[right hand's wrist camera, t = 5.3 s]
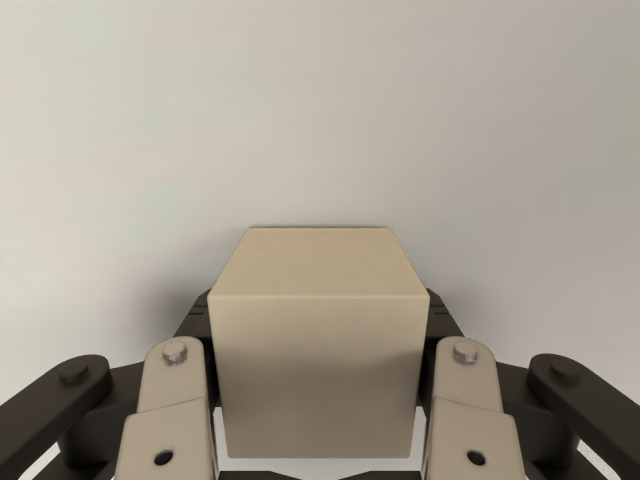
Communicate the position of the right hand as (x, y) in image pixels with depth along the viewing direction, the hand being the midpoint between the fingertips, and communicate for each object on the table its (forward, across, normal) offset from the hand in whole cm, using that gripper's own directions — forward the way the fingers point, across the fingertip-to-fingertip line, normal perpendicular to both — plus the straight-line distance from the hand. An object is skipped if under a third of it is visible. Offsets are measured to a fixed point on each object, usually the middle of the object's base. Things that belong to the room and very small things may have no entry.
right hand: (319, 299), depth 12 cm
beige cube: (+1, 0, 0) cm, 1 cm away
